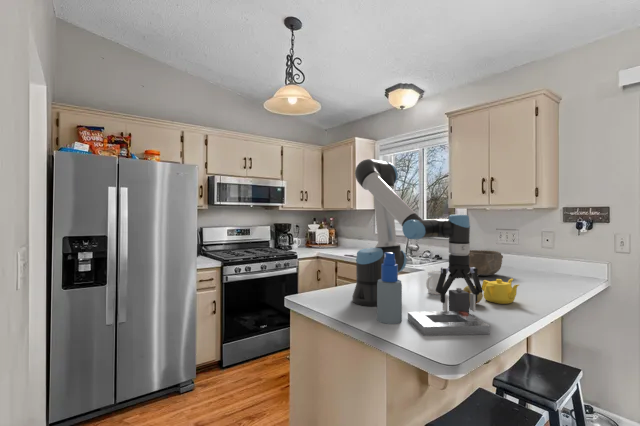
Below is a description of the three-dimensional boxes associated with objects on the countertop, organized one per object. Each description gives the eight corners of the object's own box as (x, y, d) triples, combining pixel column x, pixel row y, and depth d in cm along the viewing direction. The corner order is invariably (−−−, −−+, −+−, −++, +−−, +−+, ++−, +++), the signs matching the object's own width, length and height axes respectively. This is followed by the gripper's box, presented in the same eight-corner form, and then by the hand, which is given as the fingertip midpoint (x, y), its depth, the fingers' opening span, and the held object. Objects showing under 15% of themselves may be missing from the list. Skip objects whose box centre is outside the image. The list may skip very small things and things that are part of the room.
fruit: (459, 301, 148) (459, 283, 148) (478, 301, 148) (478, 283, 148) (466, 306, 141) (466, 287, 141) (486, 306, 141) (486, 287, 141)
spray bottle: (380, 324, 118) (380, 254, 118) (374, 316, 127) (374, 251, 127) (405, 323, 119) (405, 253, 119) (397, 315, 128) (397, 250, 128)
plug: (455, 316, 127) (455, 290, 127) (448, 312, 132) (448, 286, 132) (469, 316, 127) (469, 289, 127) (462, 312, 133) (462, 286, 133)
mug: (433, 297, 156) (434, 275, 156) (419, 293, 163) (419, 272, 163) (449, 293, 163) (449, 272, 163) (434, 290, 170) (434, 269, 170)
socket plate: (424, 335, 107) (424, 324, 107) (407, 319, 123) (407, 310, 123) (489, 334, 109) (489, 323, 109) (465, 318, 125) (465, 309, 125)
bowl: (504, 274, 214) (504, 250, 214) (501, 280, 193) (501, 254, 193) (464, 270, 227) (464, 248, 227) (457, 276, 206) (457, 252, 206)
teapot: (520, 307, 140) (520, 283, 140) (484, 304, 145) (485, 281, 144) (512, 298, 153) (513, 277, 153) (480, 296, 158) (480, 275, 157)
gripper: (434, 255, 125) (434, 314, 125) (493, 255, 127) (492, 313, 127) (426, 253, 133) (426, 308, 133) (482, 252, 134) (481, 307, 134)
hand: (458, 310), depth 130 cm, fingers open, 10 cm apart
